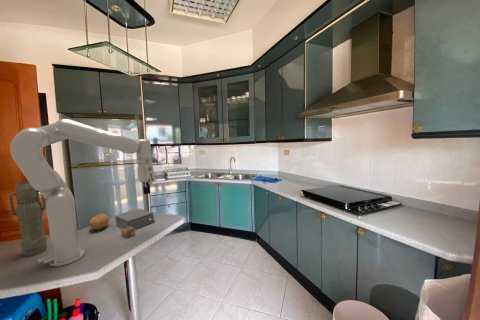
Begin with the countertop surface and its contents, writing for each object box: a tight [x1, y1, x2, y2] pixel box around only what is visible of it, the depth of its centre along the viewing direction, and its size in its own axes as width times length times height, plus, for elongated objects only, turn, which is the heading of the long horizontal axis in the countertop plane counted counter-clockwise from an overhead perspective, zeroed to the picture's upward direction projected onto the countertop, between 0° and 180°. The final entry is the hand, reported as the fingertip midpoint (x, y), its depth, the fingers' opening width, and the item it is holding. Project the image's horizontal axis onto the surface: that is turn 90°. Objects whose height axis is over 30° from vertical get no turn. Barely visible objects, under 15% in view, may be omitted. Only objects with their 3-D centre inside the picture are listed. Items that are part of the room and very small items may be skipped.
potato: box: [88, 213, 110, 231], centre depth 126 cm, size 10×14×8 cm
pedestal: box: [120, 226, 136, 239], centre depth 115 cm, size 5×5×4 cm
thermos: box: [9, 180, 48, 257], centre depth 100 cm, size 9×12×35 cm
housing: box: [115, 208, 154, 229], centre depth 132 cm, size 16×16×6 cm
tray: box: [129, 214, 155, 230], centre depth 131 cm, size 15×16×5 cm
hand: (147, 193), depth 116 cm, fingers closed
